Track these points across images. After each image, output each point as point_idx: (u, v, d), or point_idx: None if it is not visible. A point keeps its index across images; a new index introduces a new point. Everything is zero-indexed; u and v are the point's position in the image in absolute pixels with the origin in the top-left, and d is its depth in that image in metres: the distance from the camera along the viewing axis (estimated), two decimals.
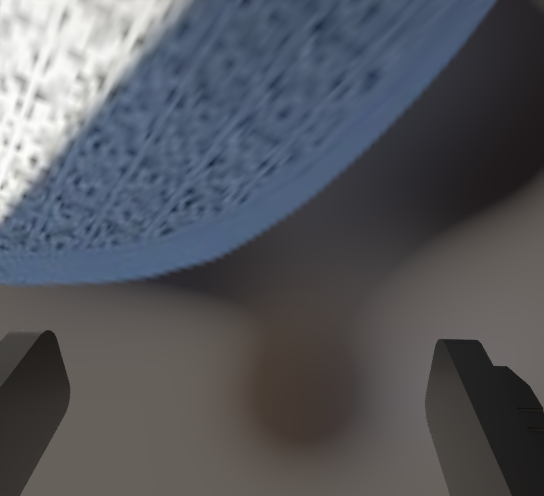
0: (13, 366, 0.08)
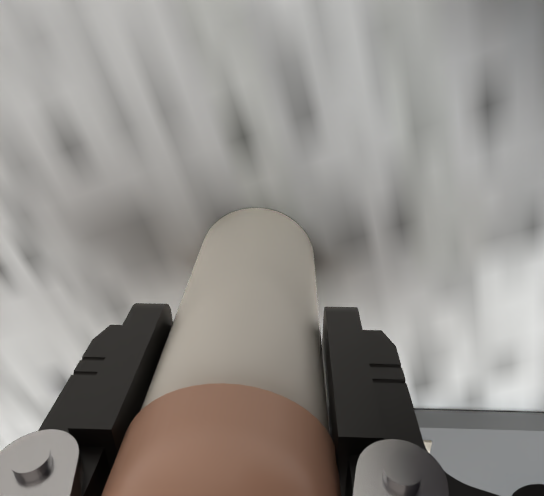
0: (149, 333, 0.09)
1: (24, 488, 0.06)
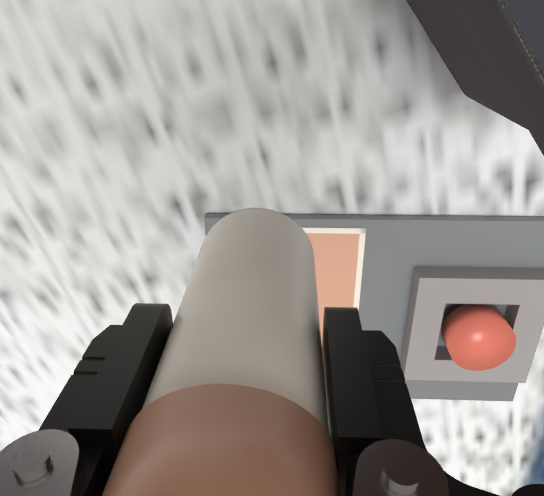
0: (149, 333, 0.09)
1: (24, 488, 0.06)
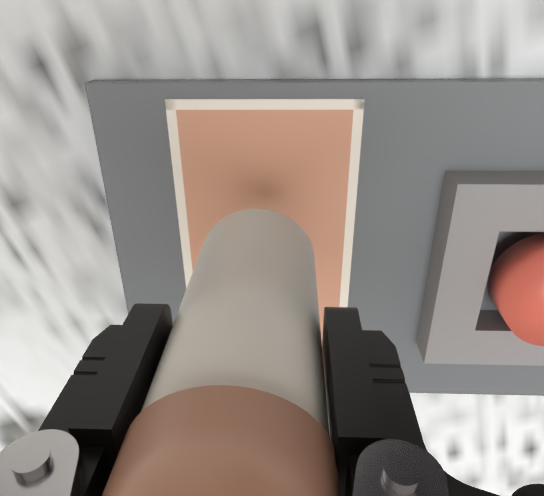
0: (149, 333, 0.09)
1: (24, 488, 0.06)
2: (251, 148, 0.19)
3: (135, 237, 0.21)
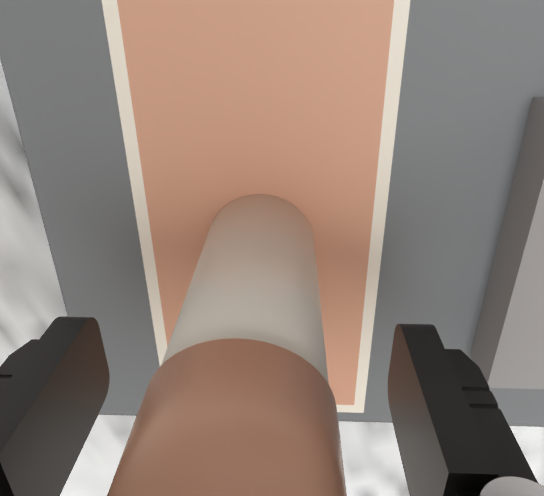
0: (64, 350, 0.09)
1: None
2: (235, 61, 0.12)
3: (70, 204, 0.15)
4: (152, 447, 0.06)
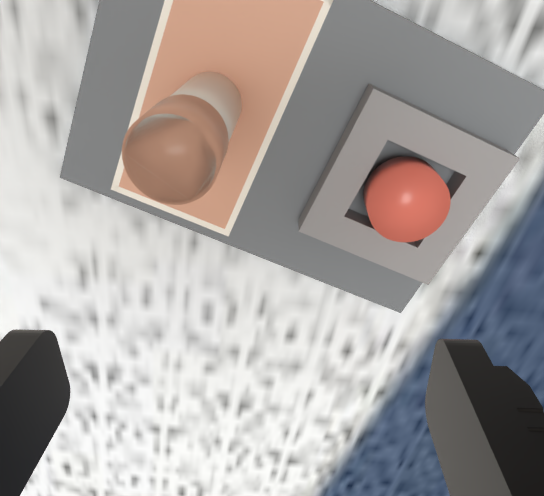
0: (13, 366, 0.08)
1: None
2: None
3: (112, 33, 0.25)
4: (164, 105, 0.17)
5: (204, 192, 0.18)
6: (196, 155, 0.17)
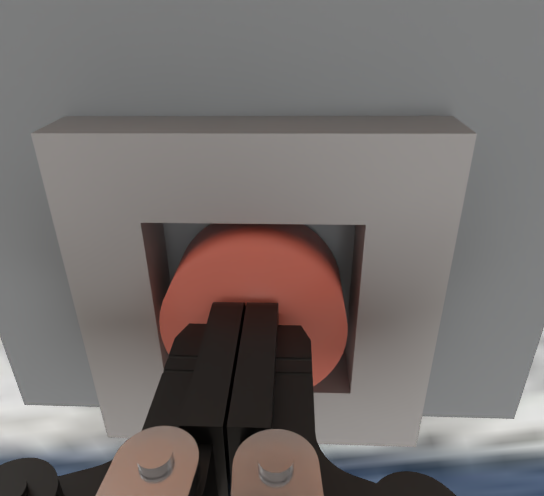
0: (236, 332, 0.09)
1: (152, 485, 0.06)
2: None
3: None
4: None
5: None
6: None
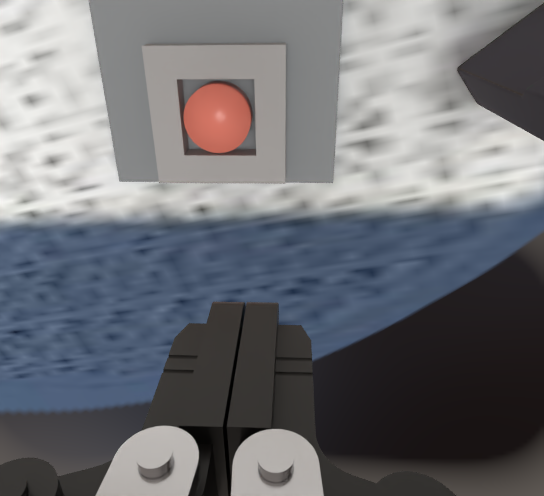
0: (236, 332, 0.09)
1: (152, 485, 0.06)
2: None
3: None
4: None
5: None
6: None
